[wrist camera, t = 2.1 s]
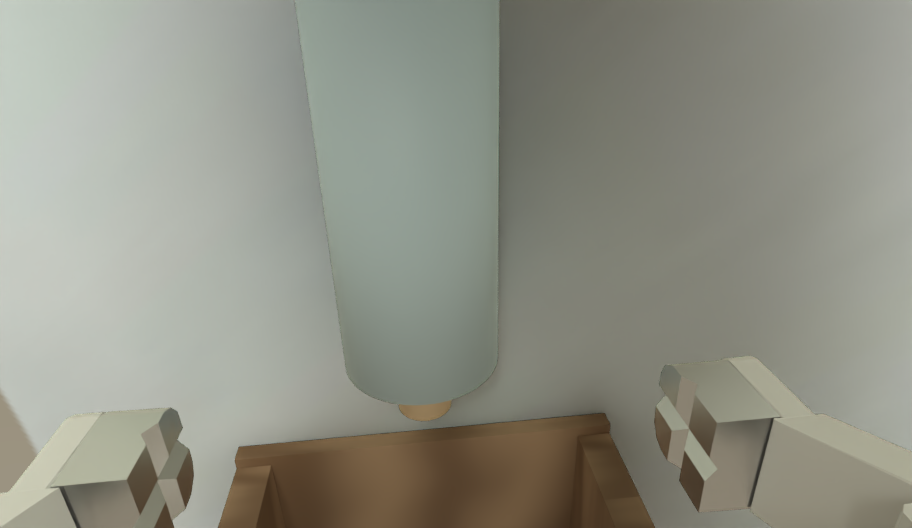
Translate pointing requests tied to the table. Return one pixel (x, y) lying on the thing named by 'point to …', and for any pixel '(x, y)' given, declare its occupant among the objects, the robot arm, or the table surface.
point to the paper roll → (409, 189)
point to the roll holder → (441, 479)
